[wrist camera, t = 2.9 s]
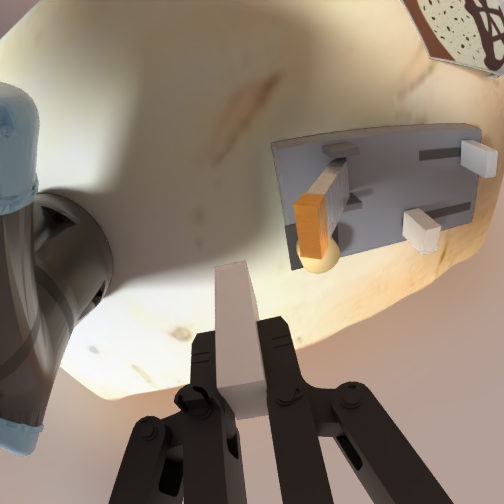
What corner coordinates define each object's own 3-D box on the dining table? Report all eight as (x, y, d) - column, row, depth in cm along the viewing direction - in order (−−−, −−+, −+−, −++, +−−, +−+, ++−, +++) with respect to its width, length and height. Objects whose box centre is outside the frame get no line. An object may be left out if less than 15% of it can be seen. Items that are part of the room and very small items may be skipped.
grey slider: (460, 164, 24) (485, 178, 20) (461, 140, 22) (487, 151, 19) (471, 163, 24) (495, 176, 20) (472, 139, 22) (497, 151, 19)
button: (298, 263, 28) (303, 277, 26) (293, 232, 26) (299, 244, 24) (332, 255, 28) (340, 268, 26) (330, 223, 26) (339, 235, 24)
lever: (337, 194, 25) (300, 258, 18) (334, 153, 23) (293, 203, 16) (352, 195, 24) (321, 261, 17) (350, 153, 22) (316, 204, 15)
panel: (285, 253, 31) (296, 283, 27) (265, 144, 25) (276, 157, 20) (458, 211, 31) (482, 230, 26) (464, 123, 24) (494, 134, 20)
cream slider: (402, 234, 28) (422, 255, 24) (403, 211, 26) (425, 230, 23) (416, 231, 28) (436, 250, 24) (418, 208, 26) (441, 226, 23)
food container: (465, 58, 20) (530, 68, 11) (434, 71, 21) (503, 81, 13) (419, -34, 14) (479, -50, 5) (381, -29, 15) (442, -54, 6)
